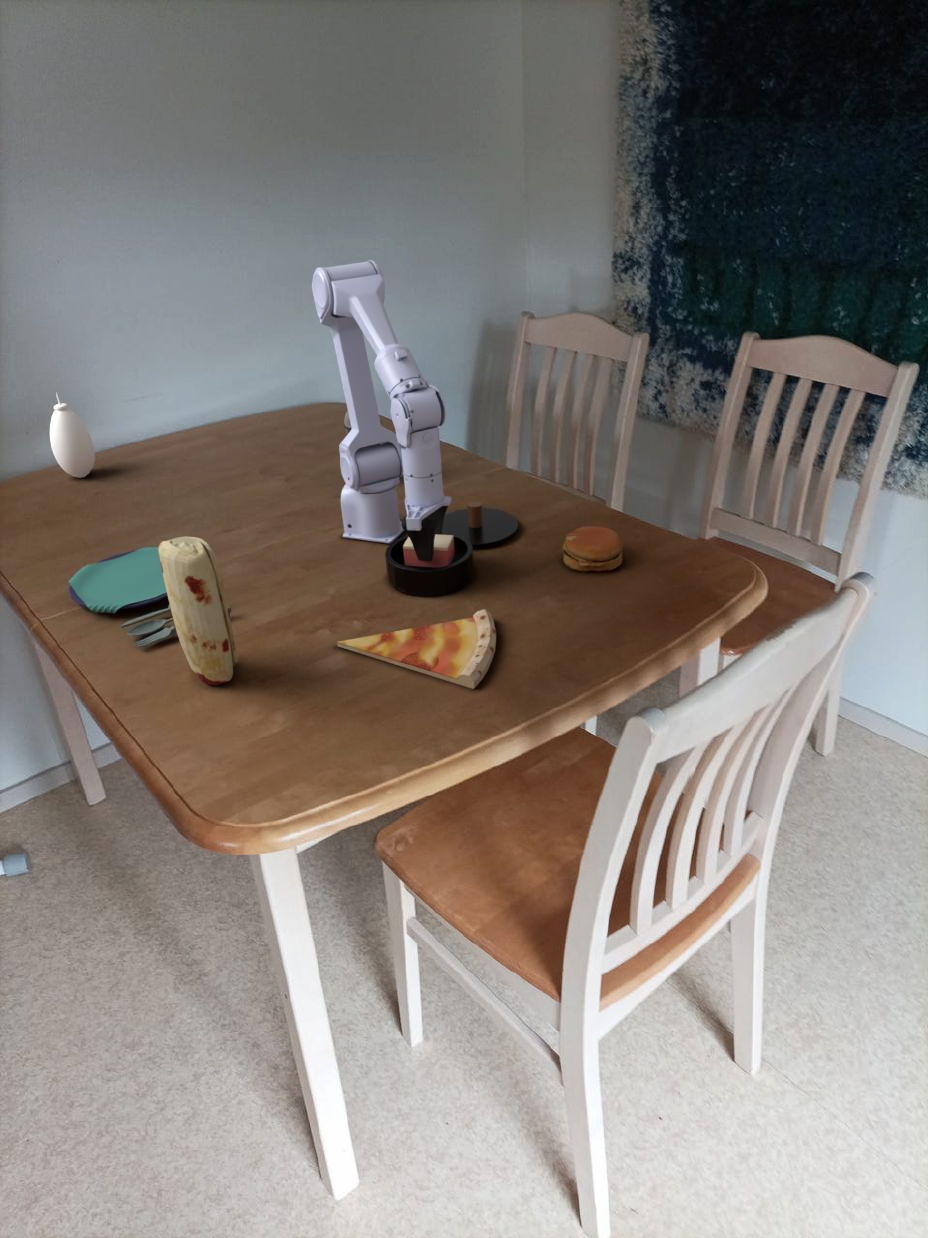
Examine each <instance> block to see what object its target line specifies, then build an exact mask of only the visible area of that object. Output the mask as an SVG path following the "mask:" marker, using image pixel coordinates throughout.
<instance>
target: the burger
mask: <svg viewBox="0 0 928 1238" xmlns="http://www.w3.org/2000/svg"><path fill="white" fill-rule="evenodd" d="M623 547H624V546H623V542H622V540H621V537H620V535H619V534H618V533H617V532H616V531H615V530H613V529H610V528H608V527H603V526H594V525H593V526H590V525H588V526H587V525H586V526H580V527H578V528H577V529H575V530H573V531H571V532H569V533H567V534H566V535H565V538H564V542H563V545H562V550H561V553H562V554H563V557H562V558H563V559H562V560H563V563H564V565H566V566H567V567H568V568H570V569H572V570H574V571H577V572H590V571H593V572H604V571H612V570H615V569H616V568H618V567H619V566H621V564H622V562H623V552H622V551H623Z"/></svg>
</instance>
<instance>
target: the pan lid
mask: <svg viewBox="0 0 928 1238" xmlns="http://www.w3.org/2000/svg"><path fill="white" fill-rule="evenodd" d="M518 528H519V523H518V520H517V518H515V516H514V515H512V514H510V513H509V512H506V511H505V510H500V509H496V508H491V507H483V504H482V502H481V501H476V500H473V501H469V502H468V503H467V508H462V509H457V510H455V511H451V512H448V513H447V514H446V513H445V517H444V521H443V527H442V532H449V533H454V534H457V535H460V536H463V537H464V538H466V539H467V540H469V541H470V543H471V545H472V546H473V548H479V547H486V546H487V547H488V546H493V545H496V544H499V543H502V542H505V541H507V540H509V539H511V538H512V537H513V536H514V535H515V534H517V532H518Z"/></svg>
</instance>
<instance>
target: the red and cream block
mask: <svg viewBox="0 0 928 1238" xmlns="http://www.w3.org/2000/svg"><path fill="white" fill-rule="evenodd" d="M403 550H404V560H405V566H418V567H436V568H437V567H444V566H447V565H450V564H451V562H452V560H453V557H454V555H455V552H454V536H453V535H437V534H435V539H434V552H433V557H432V560H431V561H419V560H418V558H417V555H416V553H415V550H414V547H413V544H412V542H411V540H410V538H409V537H408V538H407V540H406V542H405V544H404V545H403Z"/></svg>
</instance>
